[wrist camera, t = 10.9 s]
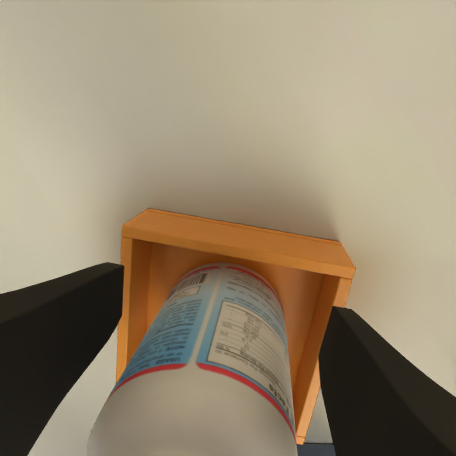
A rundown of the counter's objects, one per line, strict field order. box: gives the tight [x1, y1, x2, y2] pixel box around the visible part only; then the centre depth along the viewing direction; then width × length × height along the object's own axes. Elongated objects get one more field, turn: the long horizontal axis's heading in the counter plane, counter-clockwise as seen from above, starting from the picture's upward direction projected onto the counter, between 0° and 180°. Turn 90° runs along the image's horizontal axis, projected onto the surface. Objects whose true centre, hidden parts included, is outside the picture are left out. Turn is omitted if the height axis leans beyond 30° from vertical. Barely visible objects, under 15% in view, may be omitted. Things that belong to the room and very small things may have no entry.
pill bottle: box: [86, 263, 298, 456], centre depth 11 cm, size 6×6×11 cm
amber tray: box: [116, 208, 356, 445], centre depth 16 cm, size 10×10×3 cm
